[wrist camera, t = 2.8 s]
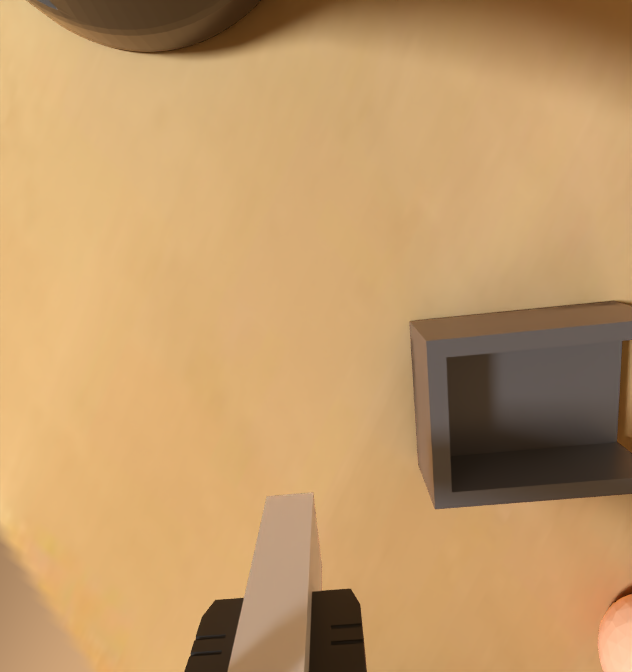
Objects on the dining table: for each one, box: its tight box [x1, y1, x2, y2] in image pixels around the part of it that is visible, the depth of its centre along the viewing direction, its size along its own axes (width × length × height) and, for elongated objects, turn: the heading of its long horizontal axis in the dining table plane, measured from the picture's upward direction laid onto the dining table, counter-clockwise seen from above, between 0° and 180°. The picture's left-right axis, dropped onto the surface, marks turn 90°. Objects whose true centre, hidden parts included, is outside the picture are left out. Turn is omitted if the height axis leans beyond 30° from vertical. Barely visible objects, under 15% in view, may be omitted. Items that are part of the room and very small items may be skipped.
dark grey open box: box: [410, 301, 632, 509], centre depth 22 cm, size 8×10×4 cm
